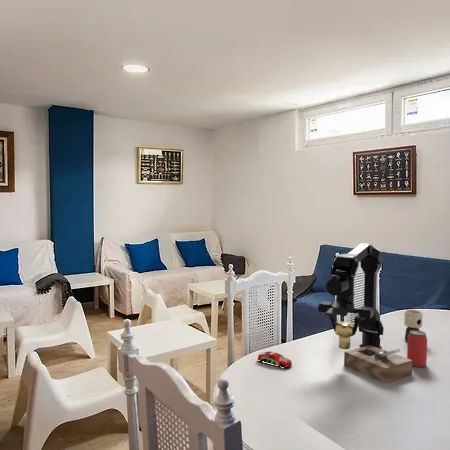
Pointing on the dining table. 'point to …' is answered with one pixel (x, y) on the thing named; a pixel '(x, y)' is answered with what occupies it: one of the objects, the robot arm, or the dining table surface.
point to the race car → (274, 359)
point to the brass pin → (344, 333)
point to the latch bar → (388, 353)
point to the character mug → (412, 321)
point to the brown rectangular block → (378, 363)
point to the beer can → (417, 348)
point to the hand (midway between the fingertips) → (344, 333)
